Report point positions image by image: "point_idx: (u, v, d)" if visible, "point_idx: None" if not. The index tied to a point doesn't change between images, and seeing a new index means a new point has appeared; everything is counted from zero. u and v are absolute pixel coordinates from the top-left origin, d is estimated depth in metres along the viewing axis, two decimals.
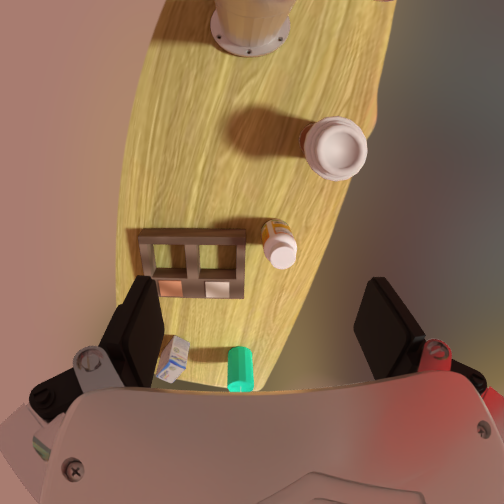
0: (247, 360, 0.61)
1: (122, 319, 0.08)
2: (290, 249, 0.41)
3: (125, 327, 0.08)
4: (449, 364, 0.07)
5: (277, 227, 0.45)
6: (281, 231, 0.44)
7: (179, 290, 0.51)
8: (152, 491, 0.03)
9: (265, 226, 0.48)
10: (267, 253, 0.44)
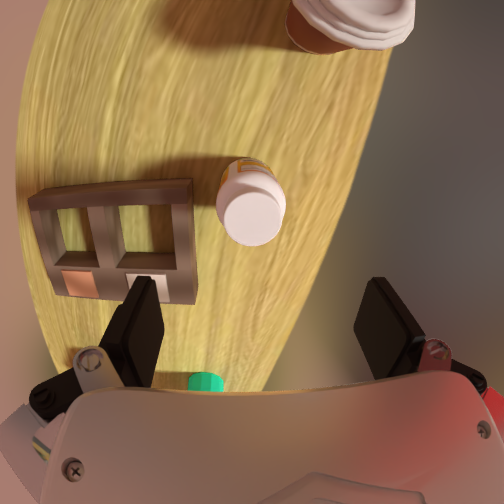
0: None
1: (122, 319, 0.08)
2: (268, 199, 0.18)
3: (125, 327, 0.08)
4: (449, 364, 0.07)
5: (246, 165, 0.22)
6: (252, 169, 0.20)
7: (92, 288, 0.28)
8: (152, 491, 0.03)
9: (226, 170, 0.25)
10: (222, 213, 0.20)
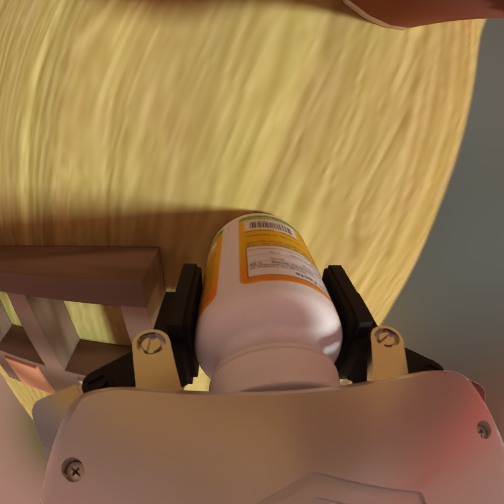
0: None
1: (179, 303, 0.09)
2: None
3: (184, 310, 0.09)
4: (403, 349, 0.07)
5: (259, 249, 0.10)
6: (274, 272, 0.09)
7: (44, 384, 0.16)
8: (152, 491, 0.03)
9: (217, 241, 0.13)
10: (208, 369, 0.09)
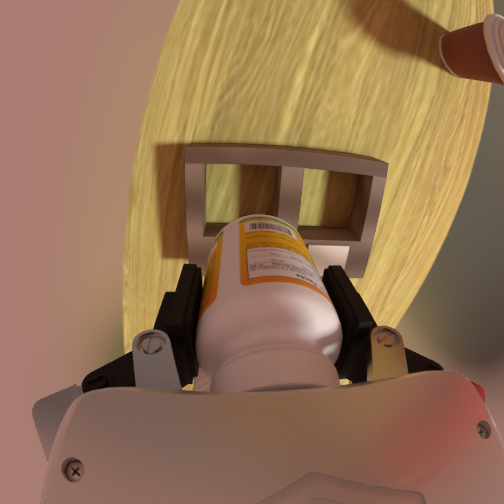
0: None
1: (179, 303, 0.09)
2: None
3: (184, 310, 0.09)
4: (402, 349, 0.07)
5: (260, 250, 0.10)
6: (274, 273, 0.09)
7: None
8: (152, 491, 0.03)
9: (217, 242, 0.13)
10: (208, 370, 0.09)
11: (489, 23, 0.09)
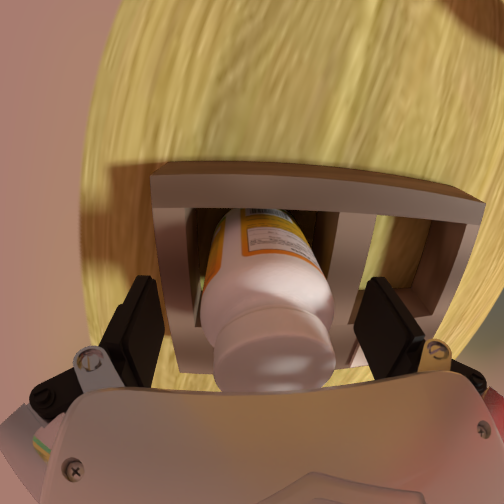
0: None
1: (122, 319, 0.08)
2: (314, 343, 0.07)
3: (125, 327, 0.08)
4: (449, 364, 0.07)
5: (259, 229, 0.12)
6: (271, 247, 0.10)
7: None
8: (152, 491, 0.03)
9: (220, 226, 0.14)
10: (212, 337, 0.10)
11: None
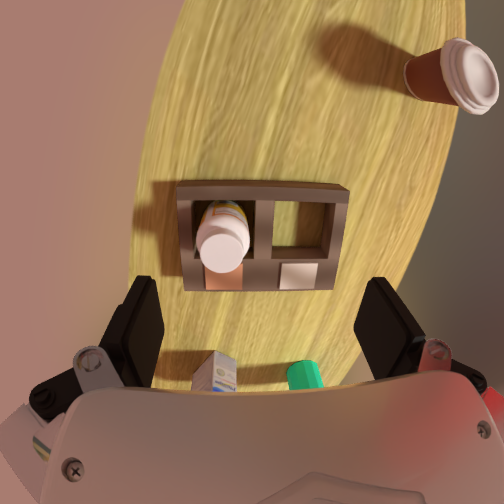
0: (318, 377, 0.43)
1: (122, 319, 0.08)
2: (232, 238, 0.24)
3: (125, 327, 0.08)
4: (449, 364, 0.07)
5: (220, 208, 0.28)
6: (223, 212, 0.27)
7: (238, 280, 0.33)
8: (152, 491, 0.03)
9: (206, 209, 0.31)
10: None
11: (446, 50, 0.16)
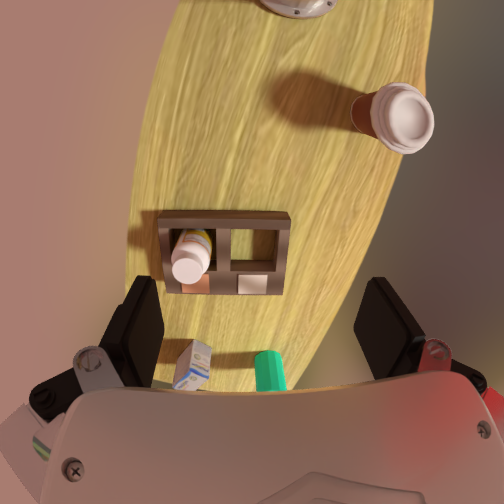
0: (279, 365, 0.53)
1: (122, 319, 0.08)
2: (193, 261, 0.34)
3: (125, 328, 0.08)
4: (449, 364, 0.07)
5: (189, 235, 0.38)
6: (189, 239, 0.37)
7: (206, 286, 0.43)
8: (152, 491, 0.03)
9: (181, 233, 0.41)
10: None
11: (376, 99, 0.25)
